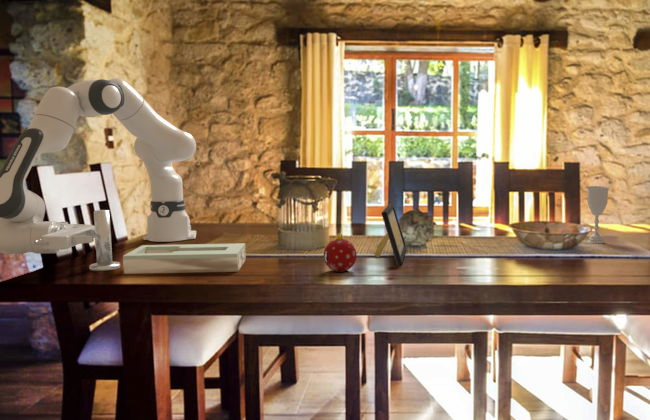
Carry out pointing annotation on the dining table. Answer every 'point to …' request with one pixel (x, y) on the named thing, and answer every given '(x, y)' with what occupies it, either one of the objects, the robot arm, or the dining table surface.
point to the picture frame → (392, 235)
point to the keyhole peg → (103, 242)
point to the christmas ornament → (340, 254)
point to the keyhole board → (185, 258)
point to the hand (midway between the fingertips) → (99, 236)
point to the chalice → (597, 208)
